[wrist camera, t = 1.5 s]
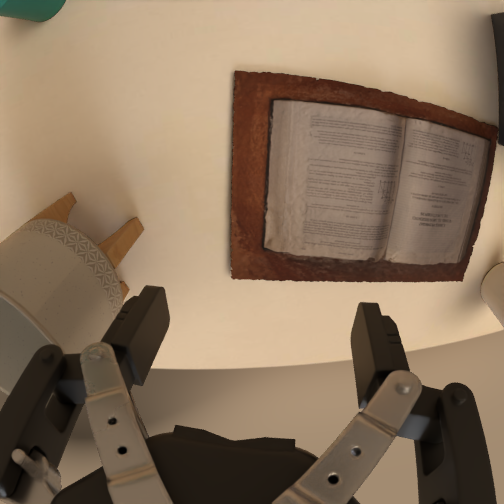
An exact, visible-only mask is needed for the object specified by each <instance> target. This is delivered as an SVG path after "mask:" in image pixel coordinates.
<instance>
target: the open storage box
mask: <svg viewBox="0 0 504 504" xmlns="http://www.w3.org/2000/svg"><path fill="white" fill-rule="evenodd" d="M491 16H492V22H493V29H494V36H495V44H496V53H497V64H498V80H499V141H498V144H500V145H503V146H504V12H503V13H497V14H492V15H491Z"/></svg>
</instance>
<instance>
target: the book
mask: <svg viewBox="0 0 504 504" xmlns="http://www.w3.org/2000/svg"><path fill="white" fill-rule="evenodd" d="M235 79H236V80H235V85H236V86H235V87H234V95H235V97H234V98H235V100H234V103H233V105H234V106H233V109H234V111H235V112H234V116H233V119H234V120H233V122H234V125H233V128H234V129H233V138H234V140H233V141H234V142H232V143H234V144H233V146H234V149H233V150H232V152H234V153H233V154H234V155H233V158H232V159H233V162H232V163H233V165H232V175H233V178H232V182H231V183H232V184H233V185H232V188H231V189H232V194H231V195H232V196H231V197H232V208H231V218H232V223H231V225H232V227H231V228H232V229H231V230H232V232H231V233H232V234H231V242H232V245H231V248H232V249H233V251H232V252H231V253H232V254H231V258H232V260H231V267H232V269H233V270H231V274H232V276H231V278H232V279H239V280H241V279H252V280H257V279H258V280H260V279H264V280H272V281H275V280H279V281H285V280H292V281H310V282H312V281H318V282H319V281H323V282H324V281H333V282H343V281H345V282H355V281H356V282H363V281H366V282H386V281H389V282H396V281H397V282H401V281H402V282H426V281H427V282H436V281H438V282H439V281H441V282H444V281H447V282H448V281H456V282H457V281H461V282H462V281H463V279H464V278H463V277H464V273H465V272H466V269H467V266H468V263H469V259H470V256H471V255H472V252H473V247H472V246H473V245H475V244H474V243H475V241H476V240H477V236H478V233H479V229H480V225H481V224H480V221H481V219H482V217H483V213H484V209H485V208H484V206H485V204H486V201H487V195H488V192H489V186H490V180H491V175H492V171H493V165H494V164H493V162H494V157H495V150H496V144H497V143H496V140H497V138H498V137H497V134H498V131H499V129H498V127H496V126H494V125H492V126H491V125H488V124H486V123H485V122H478V121H477V120H475V119H473V118H472V117H468V116H466V115H463V114H460V113H457V112H455V111H453V110H448V109H446V108H444V107H440V106H437V105H433V104H431V103H426V102H418V101H417V100H415V99H409V98H408V97H407V96H402V95H398V94H395V93H392V92H381V90H378V89H373V88H365V87H364V86H360V85H355V84H348V83H344V82H339V81H333V80H326V79H319V80H318V81H317V80H316V78H312V77H303V76H298V75H289V74H283V73H271V72H267V73H266V72H262V73H258V72H250V73H248V72H245V71H235Z"/></svg>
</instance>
